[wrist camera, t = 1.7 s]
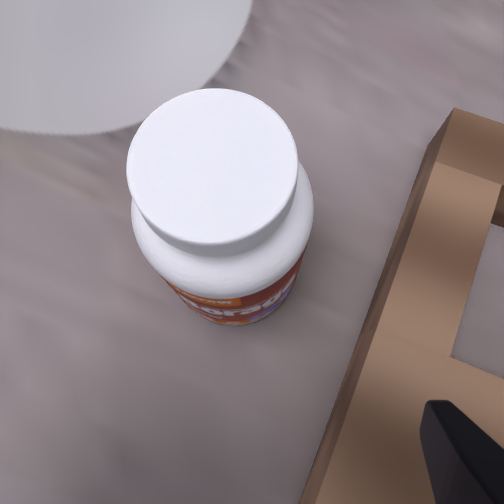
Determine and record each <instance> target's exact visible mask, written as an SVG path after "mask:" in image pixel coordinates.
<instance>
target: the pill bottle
mask: <svg viewBox="0 0 504 504" xmlns="http://www.w3.org/2000/svg"><path fill="white" fill-rule="evenodd" d="M126 172H127V181H128V186H129V190H130V193H131V196H132V206H131V218H132V225H133V230H134V234H135V237H136V240H137V242H138V245H139V247H140V249H141V251H142V252H143V254H144V256H145V257H146V259H147V260H148V261H149V262H150V264H151V265H152V267H153V268H154V269H155V270H156V271H157V272H158V273H159V275H160V276H161V277H162V278H163V279H164V280H165V281H166V282H167V283H168V284H169V285H170V287H171V288H172V289H173V290H174V291H175V292H176V293H177V294H178V295H179V296H180V297H181V299H182V300H183V301H184V302H185V303H186V304H187V305H188V306H189V307H190V308H191V309H192V310H193V311H195V312H196V313H197V314H199V315H200V316H202V317H204V318H205V319H208V320H210V321H212V322H215V323H219V324H224V325H244V324H249V323H252V322H255V321H258V320H260V319H262V318H264V317H266V316H267V315H269V314H270V313H272V312H273V311H274V310H276V309H277V308H278V307H279V306H280V305H281V304H282V302H283V301H284V300H285V299H286V297H287V296H288V294H289V293H290V291H291V289H292V287H293V284H294V282H295V279H296V276H297V273H298V269H299V266H300V263H301V260H302V257H303V254H304V251H305V248H306V245H307V242H308V239H309V236H310V232H311V228H312V224H313V215H314V202H313V194H312V189H311V185H310V182H309V179H308V176H307V174H306V172H305V170H304V168H303V166H302V165H301V163H300V162H299V160H298V155H297V149H296V144H295V141H294V139H293V137H292V134H291V132H290V130H289V129H288V127H287V125H286V124H285V122H284V121H283V120H282V118H281V117H280V116H279V115H278V114H277V113H276V112H275V111H274V110H273V109H272V108H271V107H269V106H268V105H266V104H265V103H264V102H262V101H260V100H259V99H257V98H255V97H253V96H251V95H248V94H245V93H243V92H239V91H235V90H229V89H216V88H213V89H200V90H196V91H192V92H188V93H185V94H182V95H179V96H177V97H175V98H173V99H171V100H169V101H167V102H166V103H164V104H163V105H161V106H160V107H159V108H157V109H156V110H155V111H154V112H152V113H151V114H150V115H149V116H148V117H147V118H146V119H145V121H144V122H143V123H142V125H141V126H140V127H139V129H138V131H137V133H136V134H135V136H134V138H133V140H132V143H131V145H130V148H129V152H128V157H127V171H126Z"/></svg>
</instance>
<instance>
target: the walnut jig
mask: <svg viewBox="0 0 504 504" xmlns="http://www.w3.org/2000/svg"><path fill="white" fill-rule="evenodd" d="M490 222H491V223H493V224H496V225H499V226H502V227H504V124H502V123H499V122H496V121H493V120H490V119H487V118H484V117H481V116H478V115H475V114H472V113H469V112H466V111H463V110H460V109H457V108H454V109H453V110H452V111H451V113H450V114H449V116H448V117H447V119H446V120H445V122H444V123H443V125H442V126H441V127H440V129H439V130H438V132H437V133H436V135H435V136H434V138H433V139H432V140H431V142H430V143H429V145H428V147H427V149H426V152H425V155H424V158H423V161H422V163H421V166H420V169H419V172H418V174H417V177H416V180H415V183H414V186H413V188H412V191H411V194H410V197H409V199H408V202H407V205H406V208H405V211H404V213H403V216H402V219H401V222H400V224H399V227H398V230H397V233H396V236H395V238H394V241H393V244H392V247H391V249H390V252H389V255H388V258H387V261H386V263H385V266H384V269H383V272H382V274H381V277H380V280H379V283H378V286H377V288H376V291H375V294H374V297H373V299H372V302H371V305H370V308H369V311H368V313H367V316H366V319H365V322H364V324H363V327H362V330H361V333H360V335H359V338H358V341H357V344H356V347H355V349H354V352H353V355H352V358H351V360H350V363H349V366H348V369H347V372H346V374H345V377H344V380H343V383H342V385H341V388H340V391H339V394H338V397H337V399H336V402H335V405H334V408H333V410H332V413H331V416H330V419H329V422H328V424H327V427H326V430H325V433H324V435H323V438H322V441H321V444H320V447H319V449H318V452H317V455H316V458H315V460H314V463H313V466H312V469H311V472H310V474H309V477H308V480H307V483H306V485H305V488H304V491H303V494H302V497H301V499H300V502H299V504H436V503H435V499H434V495H433V491H432V487H431V483H430V478H429V474H428V470H427V466H426V462H425V458H424V454H423V449H422V445H421V441H420V433H419V431H420V424H421V420H422V415H423V411H424V407H425V404H426V402H427V401H428V400H449V401H451V402H452V403H453V404H454V405H456V406H457V407H458V408H459V409H460V410H461V411H462V412H463V413H464V414H466V415H467V416H468V417H469V418H470V419H471V420H472V421H473V422H474V423H476V424H477V425H478V426H479V427H480V428H481V429H482V430H483V431H484V432H486V433H487V434H488V435H489V436H490V437H491V438H492V439H493V440H495V441H496V442H497V443H498V444H499V445H500V446H501V447H502V448H503V449H504V379H503V378H500V377H498V376H495V375H493V374H491V373H488V372H486V371H483V370H481V369H478V368H476V367H474V366H471V365H469V364H466V363H464V362H462V361H459V360H457V359H454V358H452V357H450V355H451V352H452V348H453V345H454V342H455V338H456V335H457V332H458V328H459V325H460V322H461V318H462V315H463V312H464V309H465V305H466V302H467V299H468V295H469V292H470V289H471V285H472V282H473V279H474V275H475V272H476V269H477V265H478V262H479V259H480V256H481V252H482V249H483V246H484V242H485V239H486V236H487V232H488V229H489V226H490Z"/></svg>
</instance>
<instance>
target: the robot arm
mask: <svg viewBox="0 0 504 504" xmlns="http://www.w3.org/2000/svg"><path fill="white" fill-rule="evenodd" d="M419 433H420V441H421V445H422V449H423V454H424V458H425V462H426V466H427V470H428V474H429V478H430V483H431V487H432V491H433V495H434V499H435V503H436V504H504V449H503V448H502V447H501V446H500V445H499V444H498V443H497V442H496V441H495V440H493V439H492V438H491V437H490V436H489V435H488V434H487V433H486V432H484V431H483V430H482V429H481V428H480V427H479V426H478V425H477V424H476V423H474V422H473V421H472V420H471V419H470V418H469V417H468V416H467V415H466V414H464V413H463V412H462V411H461V410H460V409H459V408H458V407H457V406H456V405H454V404H453V403H452V402H451V401H449V400H428V401H427V402H426V404H425V407H424V411H423V415H422V420H421V424H420V431H419Z"/></svg>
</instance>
